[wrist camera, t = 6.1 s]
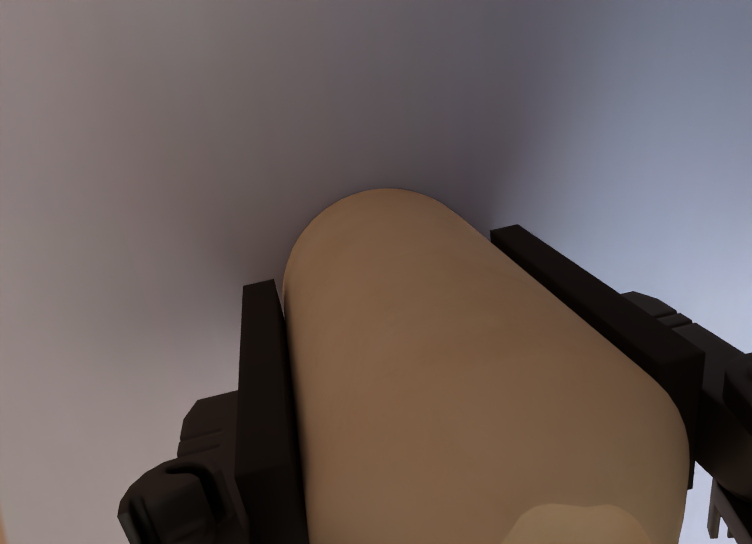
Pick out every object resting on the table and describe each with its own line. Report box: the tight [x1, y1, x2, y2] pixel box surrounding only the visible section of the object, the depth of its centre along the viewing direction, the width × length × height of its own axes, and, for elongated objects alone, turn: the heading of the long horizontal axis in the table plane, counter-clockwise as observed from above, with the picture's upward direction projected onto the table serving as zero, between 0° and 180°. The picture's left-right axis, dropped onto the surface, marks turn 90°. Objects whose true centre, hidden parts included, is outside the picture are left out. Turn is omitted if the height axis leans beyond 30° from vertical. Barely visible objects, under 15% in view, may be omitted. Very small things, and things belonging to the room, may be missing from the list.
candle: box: [283, 188, 690, 544], centre depth 11 cm, size 6×6×10 cm
